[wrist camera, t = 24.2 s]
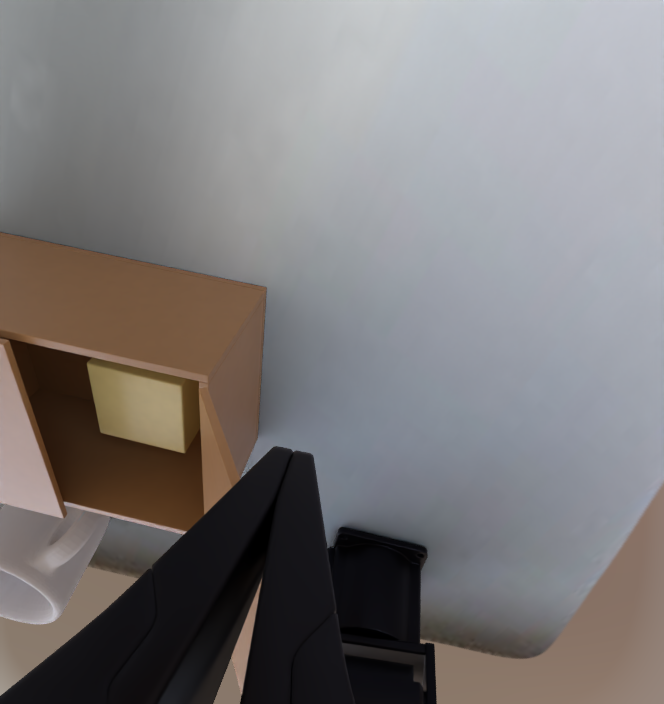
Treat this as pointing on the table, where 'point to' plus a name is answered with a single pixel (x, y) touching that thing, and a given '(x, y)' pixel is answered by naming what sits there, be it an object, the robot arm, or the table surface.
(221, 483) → the flap
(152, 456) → the carton
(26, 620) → the cup
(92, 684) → the robot arm
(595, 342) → the table surface
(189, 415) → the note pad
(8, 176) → the table surface
